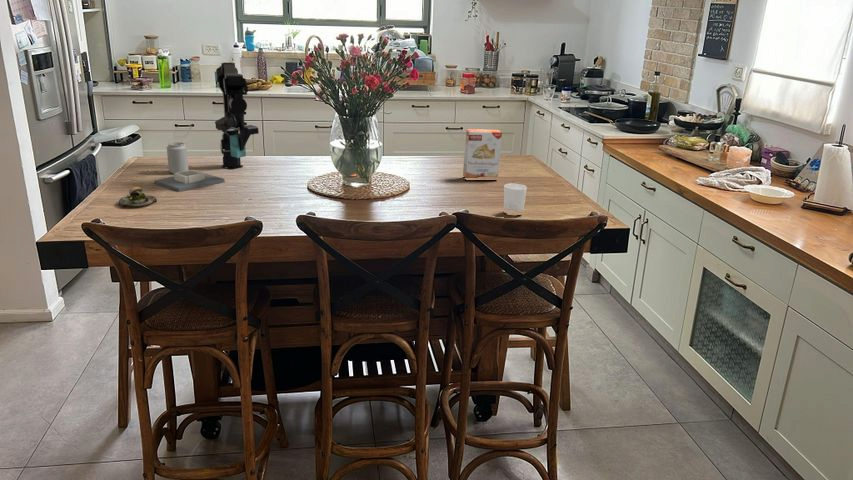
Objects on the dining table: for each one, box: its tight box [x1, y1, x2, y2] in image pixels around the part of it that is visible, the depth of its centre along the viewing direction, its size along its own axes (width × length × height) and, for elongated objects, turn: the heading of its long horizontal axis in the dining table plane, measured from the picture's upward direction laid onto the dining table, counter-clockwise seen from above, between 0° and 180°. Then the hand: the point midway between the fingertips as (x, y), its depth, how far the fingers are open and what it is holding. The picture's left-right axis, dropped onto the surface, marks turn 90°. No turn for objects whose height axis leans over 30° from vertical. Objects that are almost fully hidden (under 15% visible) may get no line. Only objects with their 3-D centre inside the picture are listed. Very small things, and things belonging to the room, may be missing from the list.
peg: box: [230, 135, 247, 159], centre depth 255 cm, size 4×4×8 cm
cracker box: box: [462, 128, 503, 178], centre depth 275 cm, size 14×6×21 cm, turn 99°
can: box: [166, 141, 189, 175], centre depth 265 cm, size 8×8×12 cm
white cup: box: [503, 183, 528, 211], centre depth 233 cm, size 8×8×10 cm
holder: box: [153, 169, 226, 193], centre depth 253 cm, size 20×16×4 cm
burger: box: [118, 183, 158, 209], centre depth 226 cm, size 12×12×8 cm
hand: (238, 149), depth 255 cm, fingers closed on peg, 4 cm apart
